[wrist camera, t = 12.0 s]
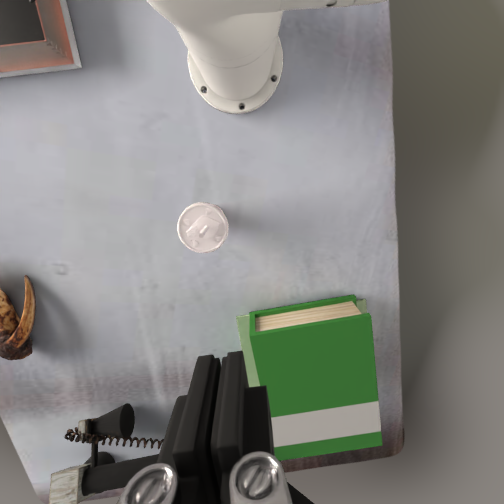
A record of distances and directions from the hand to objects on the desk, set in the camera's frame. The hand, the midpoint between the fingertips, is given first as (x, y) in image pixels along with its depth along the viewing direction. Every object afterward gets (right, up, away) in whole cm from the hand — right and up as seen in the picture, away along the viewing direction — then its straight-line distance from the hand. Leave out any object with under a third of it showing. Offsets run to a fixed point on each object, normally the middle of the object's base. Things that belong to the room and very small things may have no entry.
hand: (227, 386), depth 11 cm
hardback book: (+9, -4, +36) cm, 37 cm away
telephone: (-18, -29, +47) cm, 58 cm away
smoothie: (-5, +11, +36) cm, 38 cm away
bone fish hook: (-39, -4, +40) cm, 55 cm away
